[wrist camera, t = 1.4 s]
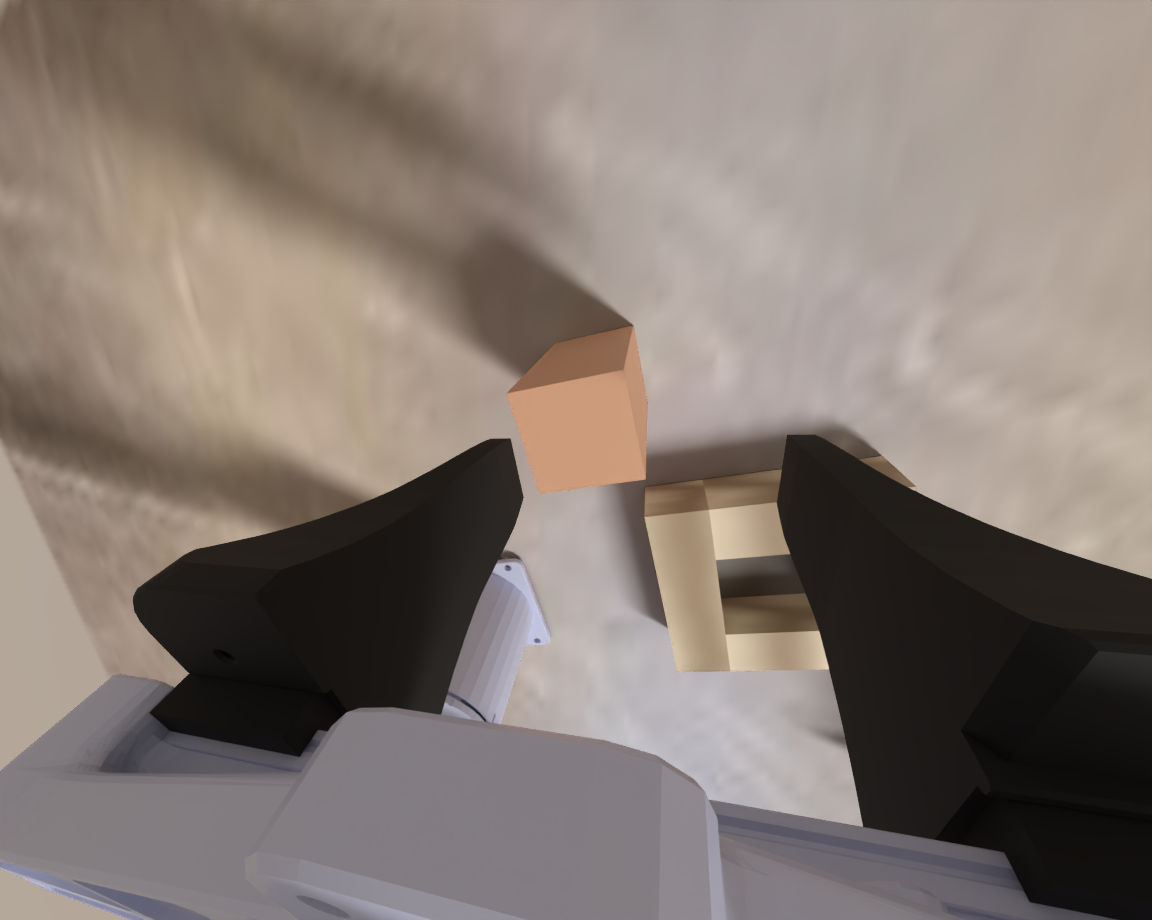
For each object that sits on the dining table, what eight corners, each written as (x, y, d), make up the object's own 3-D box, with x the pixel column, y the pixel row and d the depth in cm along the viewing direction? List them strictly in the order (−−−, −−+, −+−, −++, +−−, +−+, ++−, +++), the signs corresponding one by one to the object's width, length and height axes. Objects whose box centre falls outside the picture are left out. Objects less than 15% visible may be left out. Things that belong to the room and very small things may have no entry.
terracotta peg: (574, 416, 23) (539, 493, 16) (555, 343, 21) (506, 393, 14) (647, 402, 22) (645, 479, 15) (633, 325, 20) (623, 369, 13)
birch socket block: (675, 633, 29) (677, 672, 26) (645, 487, 24) (644, 517, 21) (870, 625, 26) (894, 668, 23) (882, 456, 21) (916, 486, 18)
